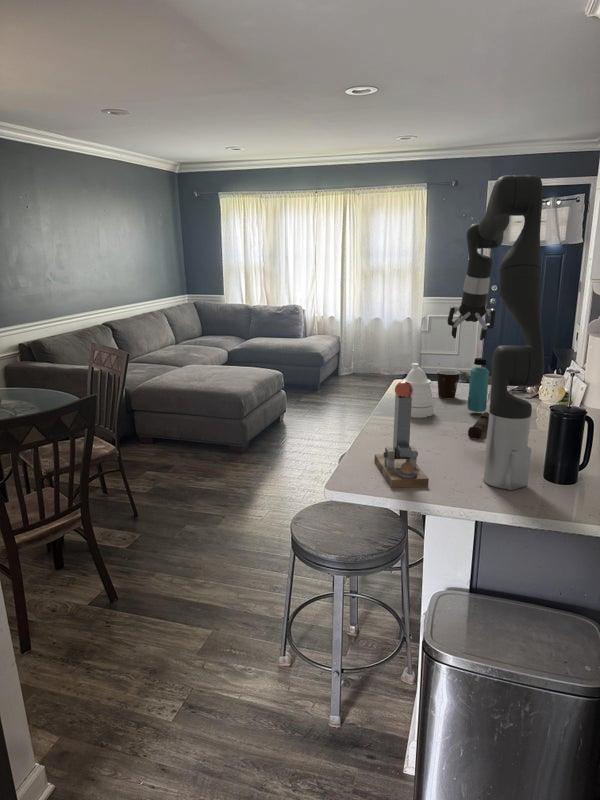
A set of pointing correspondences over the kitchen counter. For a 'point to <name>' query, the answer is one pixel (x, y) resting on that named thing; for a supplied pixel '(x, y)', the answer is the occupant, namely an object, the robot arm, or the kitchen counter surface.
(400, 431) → the lever
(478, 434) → the hand tool
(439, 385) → the coffee mug
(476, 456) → the kitchen counter surface
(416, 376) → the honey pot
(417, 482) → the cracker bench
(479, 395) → the beverage bottle
